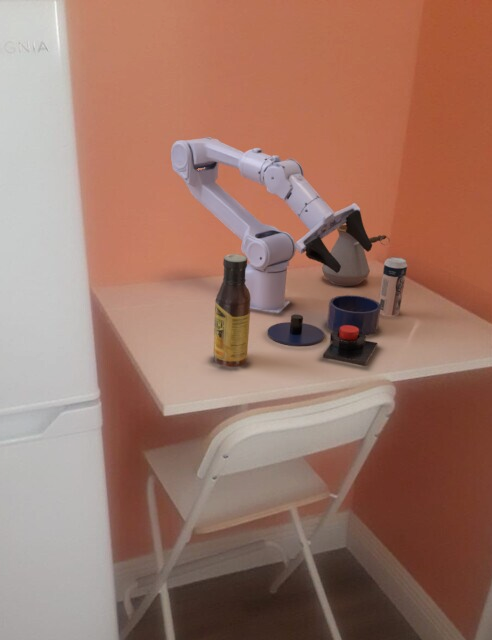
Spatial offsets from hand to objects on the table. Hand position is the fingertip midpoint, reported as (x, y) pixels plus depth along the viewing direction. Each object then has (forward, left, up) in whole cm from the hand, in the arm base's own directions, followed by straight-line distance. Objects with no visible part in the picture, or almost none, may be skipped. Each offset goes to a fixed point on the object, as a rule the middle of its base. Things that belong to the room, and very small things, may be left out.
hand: (354, 259), depth 135 cm
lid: (-8, -7, -15) cm, 18 cm away
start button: (+2, -8, -13) cm, 15 cm away
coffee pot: (-5, +29, -16) cm, 34 cm away
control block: (+4, -10, -15) cm, 18 cm away
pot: (+1, +3, -15) cm, 16 cm away
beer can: (+6, +15, -16) cm, 23 cm away
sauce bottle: (-15, -24, -16) cm, 32 cm away
